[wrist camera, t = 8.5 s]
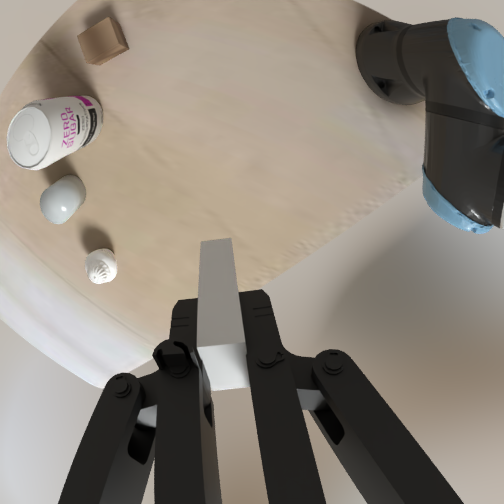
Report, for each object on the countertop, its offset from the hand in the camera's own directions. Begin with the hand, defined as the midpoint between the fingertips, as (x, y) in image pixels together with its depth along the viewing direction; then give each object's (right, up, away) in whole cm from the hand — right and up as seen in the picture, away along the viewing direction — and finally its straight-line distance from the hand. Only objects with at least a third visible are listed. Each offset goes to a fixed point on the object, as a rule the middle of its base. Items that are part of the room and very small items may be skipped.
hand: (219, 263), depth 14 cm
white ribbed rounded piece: (-24, 0, +31) cm, 40 cm away
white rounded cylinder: (-28, +10, +24) cm, 39 cm away
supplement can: (-24, +20, +19) cm, 37 cm away
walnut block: (-19, +30, +13) cm, 38 cm away
